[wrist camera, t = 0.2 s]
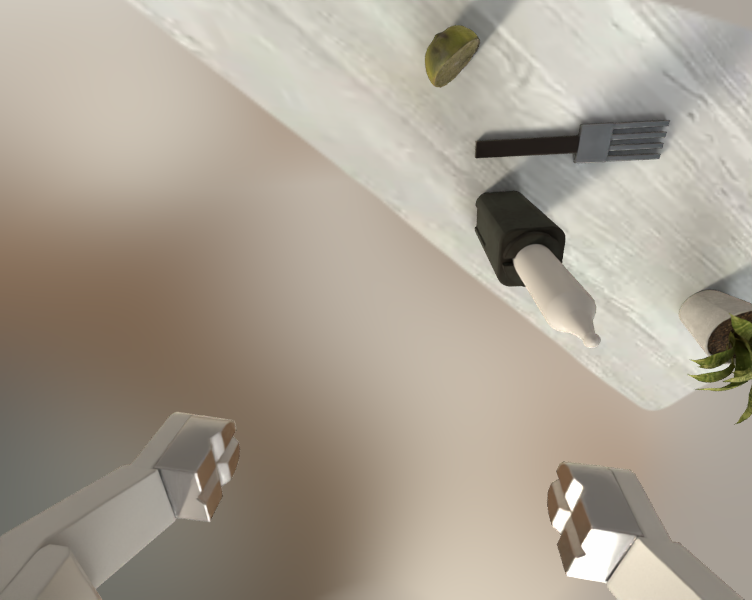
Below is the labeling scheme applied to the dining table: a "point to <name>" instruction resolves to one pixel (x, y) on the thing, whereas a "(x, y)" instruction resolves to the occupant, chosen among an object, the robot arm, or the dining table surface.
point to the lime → (450, 54)
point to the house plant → (721, 337)
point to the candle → (534, 261)
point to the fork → (579, 143)
